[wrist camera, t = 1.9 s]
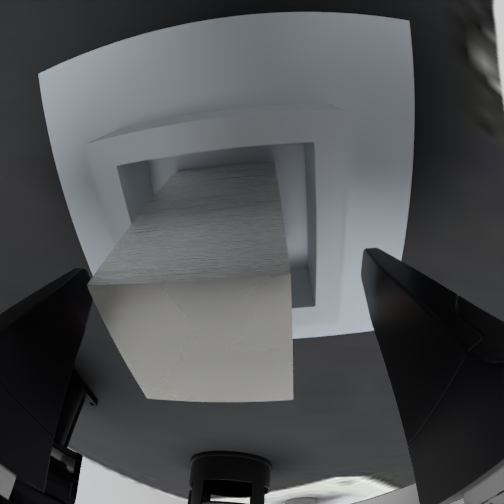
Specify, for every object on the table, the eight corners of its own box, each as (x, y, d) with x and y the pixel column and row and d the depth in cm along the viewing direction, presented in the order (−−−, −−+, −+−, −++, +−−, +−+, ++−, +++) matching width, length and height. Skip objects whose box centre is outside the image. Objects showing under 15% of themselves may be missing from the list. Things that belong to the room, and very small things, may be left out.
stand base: (384, 323, 17) (404, 376, 14) (125, 335, 18) (105, 386, 15) (404, 22, 9) (456, 8, 5) (44, 73, 10) (-15, 82, 7)
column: (281, 262, 14) (293, 410, 8) (194, 267, 14) (154, 409, 8) (274, 161, 12) (290, 274, 5) (174, 172, 12) (86, 285, 6)
